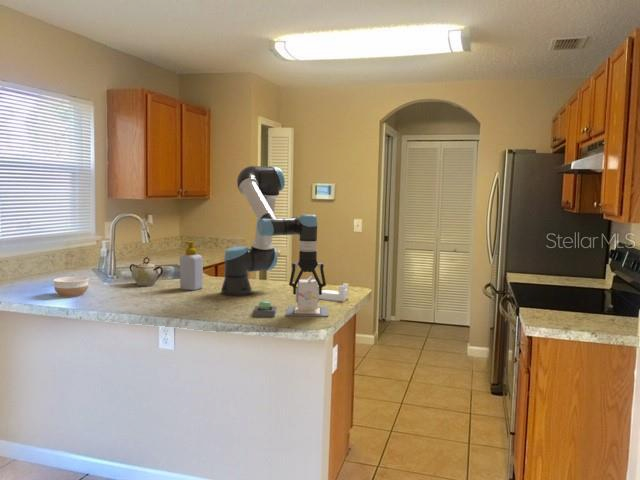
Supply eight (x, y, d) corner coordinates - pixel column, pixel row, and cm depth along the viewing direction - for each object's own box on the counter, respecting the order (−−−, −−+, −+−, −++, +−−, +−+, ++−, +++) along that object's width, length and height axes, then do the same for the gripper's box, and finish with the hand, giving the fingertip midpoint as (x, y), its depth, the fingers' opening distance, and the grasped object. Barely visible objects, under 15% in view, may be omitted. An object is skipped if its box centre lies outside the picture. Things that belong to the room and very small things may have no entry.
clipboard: (285, 316, 224) (285, 314, 224) (287, 307, 240) (287, 305, 240) (328, 316, 224) (328, 315, 224) (327, 308, 240) (327, 306, 240)
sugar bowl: (169, 283, 294) (169, 256, 292) (155, 288, 279) (155, 259, 278) (137, 281, 298) (137, 254, 296) (122, 286, 283) (121, 258, 282)
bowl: (96, 293, 264) (96, 277, 263) (69, 299, 249) (69, 283, 248) (73, 290, 270) (73, 275, 269) (46, 296, 256) (45, 280, 255)
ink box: (297, 305, 235) (297, 275, 234) (316, 305, 236) (316, 275, 235) (298, 309, 227) (298, 278, 225) (317, 309, 228) (318, 278, 226)
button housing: (253, 316, 222) (252, 310, 222) (255, 311, 231) (255, 305, 231) (274, 317, 222) (274, 311, 222) (276, 311, 231) (276, 306, 231)
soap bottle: (179, 289, 276) (178, 241, 273) (189, 286, 284) (189, 240, 282) (193, 291, 273) (193, 242, 270) (203, 288, 281) (203, 240, 278)
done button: (258, 310, 224) (258, 303, 224) (259, 307, 229) (259, 300, 229) (270, 310, 224) (270, 303, 224) (271, 307, 229) (271, 300, 229)
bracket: (348, 299, 261) (348, 283, 260) (343, 302, 254) (344, 286, 253) (323, 296, 265) (323, 281, 264) (318, 299, 259) (318, 284, 258)
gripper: (282, 251, 225) (282, 303, 228) (333, 251, 225) (332, 304, 228) (283, 248, 233) (283, 299, 235) (332, 249, 233) (331, 300, 235)
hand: (307, 301), depth 231 cm, fingers closed on ink box, 9 cm apart
